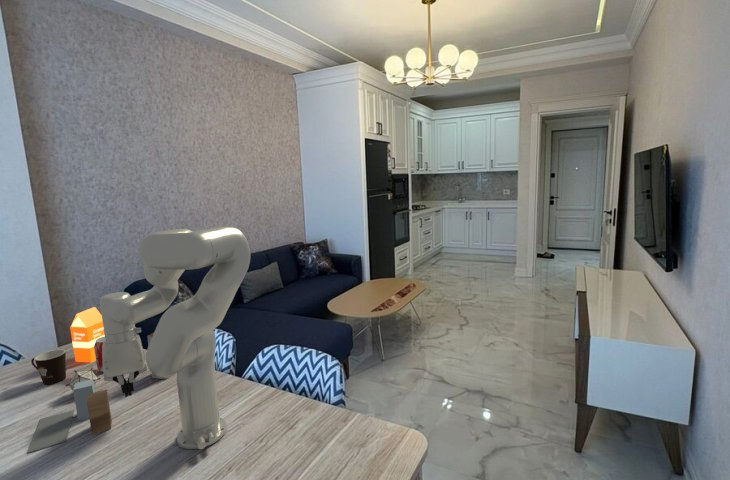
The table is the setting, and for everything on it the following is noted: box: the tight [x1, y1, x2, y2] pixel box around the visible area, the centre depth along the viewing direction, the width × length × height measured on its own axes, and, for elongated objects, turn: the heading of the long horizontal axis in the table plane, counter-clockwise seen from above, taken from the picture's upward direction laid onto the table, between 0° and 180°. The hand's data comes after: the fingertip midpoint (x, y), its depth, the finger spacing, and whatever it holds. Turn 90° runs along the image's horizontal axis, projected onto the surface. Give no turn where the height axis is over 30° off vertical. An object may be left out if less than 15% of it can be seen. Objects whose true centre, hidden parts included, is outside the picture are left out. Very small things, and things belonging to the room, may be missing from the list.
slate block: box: [72, 379, 96, 422], centre depth 114 cm, size 4×4×10 cm
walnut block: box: [87, 389, 113, 435], centre depth 108 cm, size 4×4×10 cm
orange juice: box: [69, 306, 105, 363], centre depth 153 cm, size 8×9×20 cm
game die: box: [65, 366, 102, 391], centre depth 127 cm, size 9×8×10 cm
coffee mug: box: [30, 348, 67, 386], centre depth 136 cm, size 12×9×10 cm
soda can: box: [94, 337, 105, 373], centre depth 143 cm, size 7×7×12 cm
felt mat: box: [27, 409, 75, 454], centre depth 108 cm, size 17×8×1 cm, turn 32°
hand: (128, 394), depth 111 cm, fingers closed
